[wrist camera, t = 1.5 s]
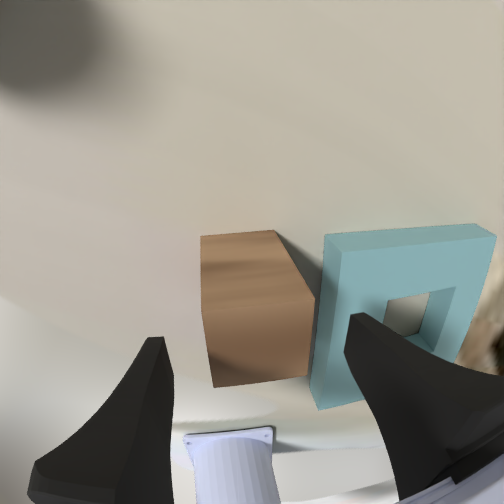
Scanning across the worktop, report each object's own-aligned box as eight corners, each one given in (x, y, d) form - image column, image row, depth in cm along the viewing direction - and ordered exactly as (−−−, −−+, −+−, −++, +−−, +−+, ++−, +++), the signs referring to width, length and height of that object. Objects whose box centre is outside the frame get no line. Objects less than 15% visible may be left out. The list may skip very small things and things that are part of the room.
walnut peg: (273, 292, 19) (307, 375, 13) (207, 299, 19) (213, 387, 12) (273, 229, 17) (315, 298, 11) (200, 236, 17) (201, 311, 11)
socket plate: (436, 353, 25) (449, 370, 23) (309, 387, 23) (318, 410, 21) (475, 223, 19) (497, 235, 17) (325, 234, 18) (342, 252, 16)
